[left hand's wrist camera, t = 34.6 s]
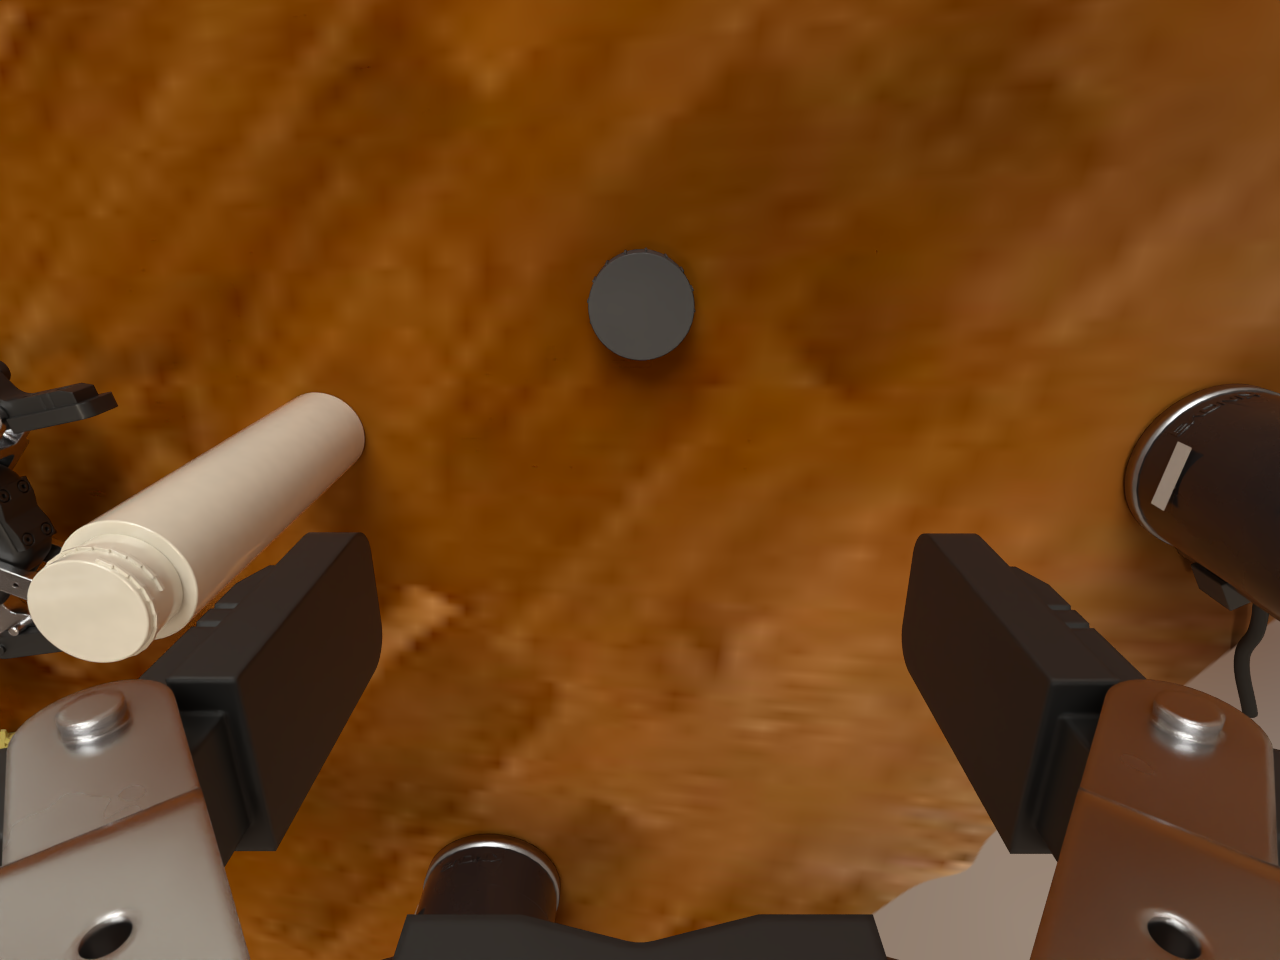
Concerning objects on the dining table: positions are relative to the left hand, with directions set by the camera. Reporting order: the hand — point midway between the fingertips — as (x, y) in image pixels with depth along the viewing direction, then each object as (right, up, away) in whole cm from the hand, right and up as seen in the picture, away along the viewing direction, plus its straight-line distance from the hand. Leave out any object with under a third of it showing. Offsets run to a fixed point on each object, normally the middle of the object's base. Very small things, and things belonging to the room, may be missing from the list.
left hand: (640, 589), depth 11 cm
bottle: (-17, +4, +30) cm, 35 cm away
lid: (0, +10, +26) cm, 28 cm away
